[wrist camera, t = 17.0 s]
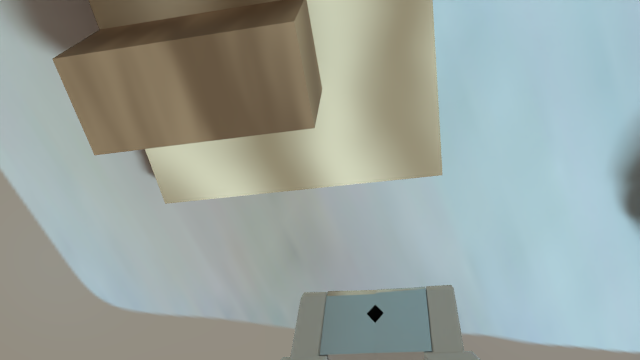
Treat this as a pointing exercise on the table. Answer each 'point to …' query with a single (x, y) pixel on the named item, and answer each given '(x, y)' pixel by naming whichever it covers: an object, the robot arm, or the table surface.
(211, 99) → the walnut block
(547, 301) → the table surface
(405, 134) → the board
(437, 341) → the robot arm
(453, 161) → the table surface
